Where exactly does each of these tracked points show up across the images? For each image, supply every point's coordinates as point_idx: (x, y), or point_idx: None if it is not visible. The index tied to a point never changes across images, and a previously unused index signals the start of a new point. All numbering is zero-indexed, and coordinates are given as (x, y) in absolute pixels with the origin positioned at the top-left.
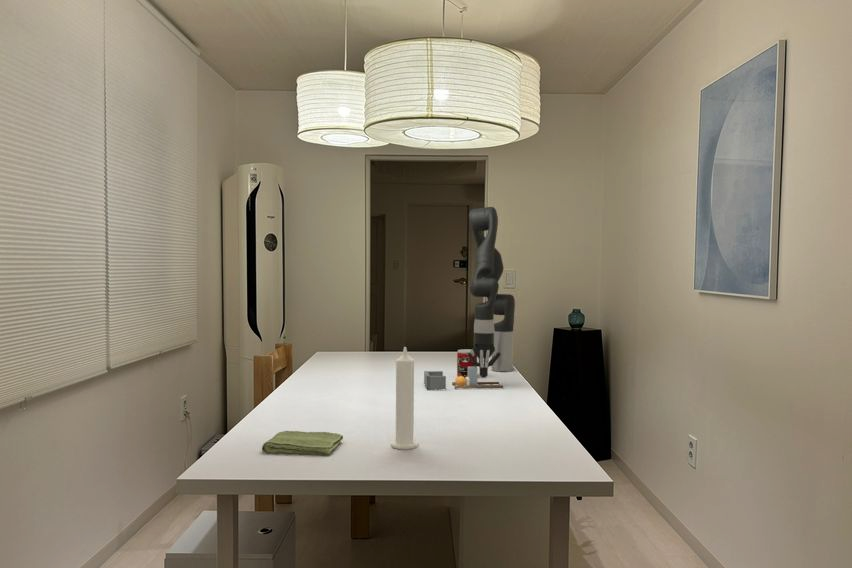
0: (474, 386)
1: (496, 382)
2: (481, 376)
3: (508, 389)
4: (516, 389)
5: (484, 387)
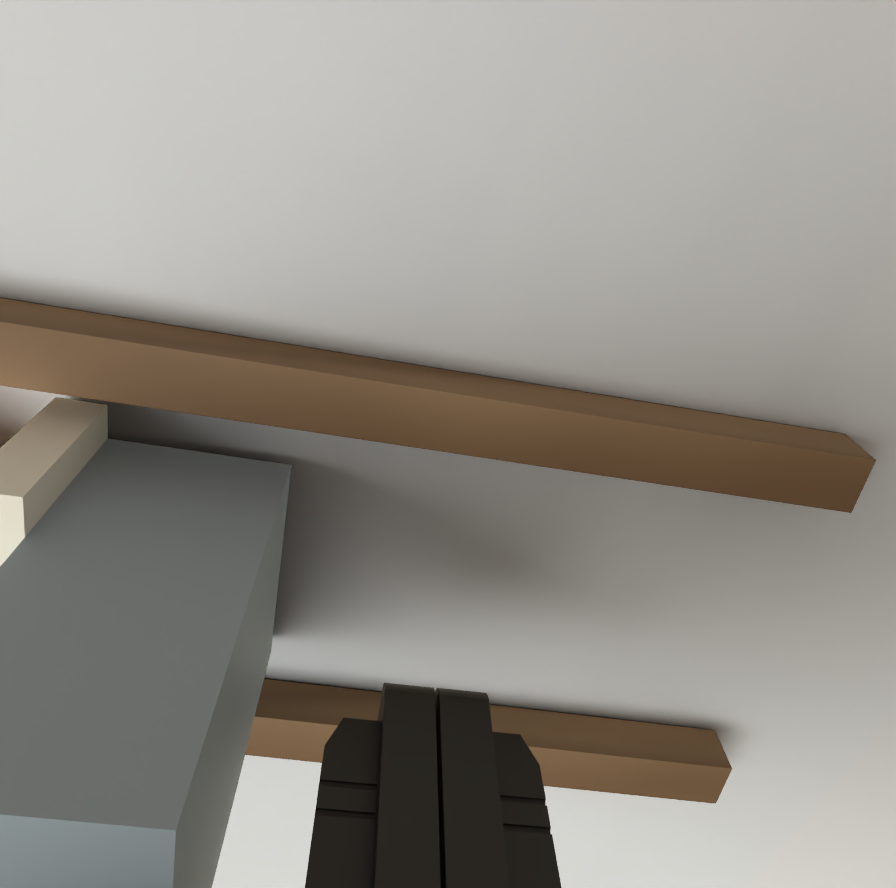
0: None
1: (792, 499)
2: (377, 727)
3: (755, 810)
4: (874, 826)
5: None
